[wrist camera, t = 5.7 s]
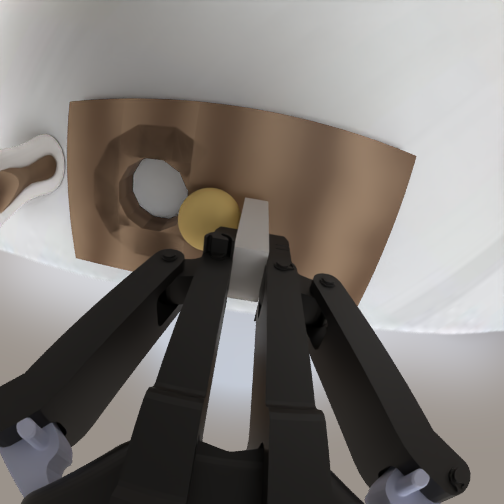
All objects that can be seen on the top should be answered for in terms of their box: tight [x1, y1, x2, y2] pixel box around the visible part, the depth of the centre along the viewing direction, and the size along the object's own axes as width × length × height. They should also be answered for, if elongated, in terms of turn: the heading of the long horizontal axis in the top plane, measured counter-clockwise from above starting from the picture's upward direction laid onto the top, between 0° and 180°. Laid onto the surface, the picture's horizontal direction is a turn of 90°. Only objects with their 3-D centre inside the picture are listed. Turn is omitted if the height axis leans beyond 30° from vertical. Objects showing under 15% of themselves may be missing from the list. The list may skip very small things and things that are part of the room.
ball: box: [178, 188, 241, 251], centre depth 17 cm, size 4×4×4 cm
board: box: [67, 98, 416, 306], centre depth 20 cm, size 26×14×2 cm, turn 80°
